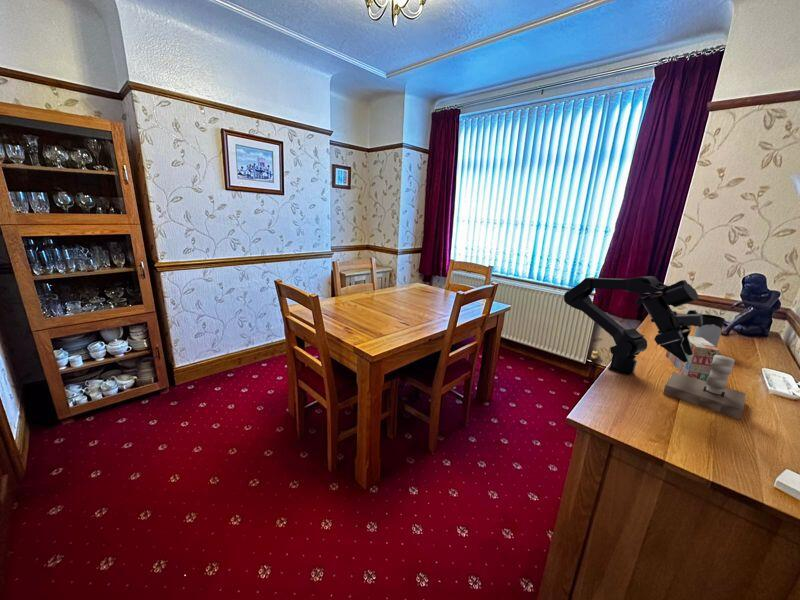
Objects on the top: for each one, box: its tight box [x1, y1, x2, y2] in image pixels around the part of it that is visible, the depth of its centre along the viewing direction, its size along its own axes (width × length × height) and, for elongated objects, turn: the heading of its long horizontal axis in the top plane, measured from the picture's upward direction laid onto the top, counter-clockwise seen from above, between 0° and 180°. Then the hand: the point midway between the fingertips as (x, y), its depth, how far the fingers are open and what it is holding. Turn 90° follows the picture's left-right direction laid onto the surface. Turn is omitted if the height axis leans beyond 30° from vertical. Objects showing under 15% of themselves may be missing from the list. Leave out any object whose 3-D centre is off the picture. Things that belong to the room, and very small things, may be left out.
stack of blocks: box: [665, 335, 720, 382], centre depth 119 cm, size 21×6×12 cm, turn 157°
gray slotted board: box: [662, 371, 747, 420], centre depth 99 cm, size 17×14×3 cm
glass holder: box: [693, 313, 726, 349], centre depth 139 cm, size 9×14×15 cm, turn 148°
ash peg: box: [705, 354, 736, 397], centre depth 96 cm, size 4×4×14 cm
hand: (688, 358), depth 100 cm, fingers open, 9 cm apart
